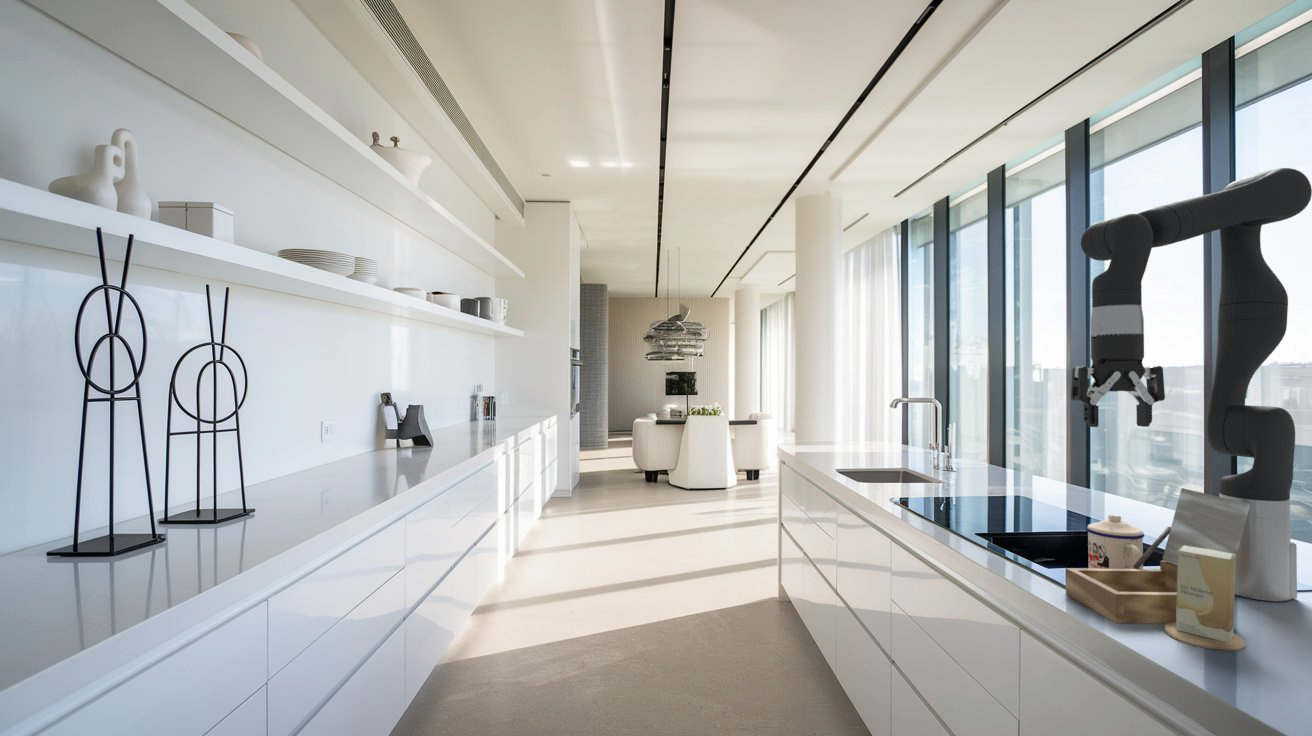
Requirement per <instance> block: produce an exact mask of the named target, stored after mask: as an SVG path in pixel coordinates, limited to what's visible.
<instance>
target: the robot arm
mask: <svg viewBox="0 0 1312 736" xmlns="http://www.w3.org/2000/svg"><path fill="white" fill-rule="evenodd" d="M1311 199H1312V185H1311V182H1310V180H1309V178H1308V177H1307V176H1306V175H1305V173H1303V172H1301V171H1300V170H1297V169H1295V168H1290V167H1279V168H1274V169H1269V170H1266V171H1263V172H1260V173H1256V174H1252V175H1249V176H1245V177H1243V178H1240V179H1236V180H1234V181H1232V182H1230V183H1229V184H1227V186H1225V188H1223V190H1222V191H1218V192H1213V193H1209V194H1205V195H1199V196H1195V197H1194V196H1193V197H1190V198H1185V199H1180V200H1177V201H1172V202H1168V203H1165V204H1161V205H1157V206H1153V207H1151V208H1148V209H1146V210H1142V211H1139V212H1137V213H1134V212H1133V213H1127V214H1121V215H1119V216H1115V217H1111V218H1108V219H1104V220H1100V221H1097V222H1094V223H1093V224H1091V225H1090V226H1088V228H1087V229H1086V230H1084V232H1083V234H1082V235H1081V239H1080V247H1081V250H1082V252H1083V253H1084V255H1086V257H1087V258H1089V259H1092V260H1095V261H1098V262H1102V261H1104V262H1105V261H1110V262H1109V265H1108V268H1107V269H1106V270H1105V271H1104V272H1102V273H1100V274H1098V275H1097V276H1095V277H1094V278H1093V280H1092V283H1091V307H1092V308H1091V316H1090V359H1091V362H1092V364H1091V367H1087V366H1075V367H1073V368H1072V374H1071V388H1070V389H1071V390H1070V391H1071V392H1070V399H1071V400H1072V401H1073V402H1078V403H1080V404H1082V405H1083V421H1084V423H1085V424H1086V426H1087V427H1091V428H1098V427H1099V419H1100V418H1099V405H1097V404H1098V402H1100V400H1101V398H1102V397H1103V396H1105V395H1107V394H1108V392H1126V393H1128V394H1129V395H1131V396H1132V397H1133V398H1134V400H1135V401H1136V402H1137V404H1136V425H1137V427H1144V428H1145V427H1150V424H1152V421H1153V405H1154V403H1157V402H1162V401H1165V399H1166V395H1165V394H1166V393H1165V380H1164V368H1163V367H1162V366H1161V365H1148V366H1146V367H1145V366H1144V364H1143V360H1144V358H1145V322H1144V319H1145V318H1144V313H1143V304H1142V302H1143V301H1142V293H1143V292H1142V281H1143V278H1144V275H1145V272H1146V269H1147V265H1148V261H1149V259H1150V255H1151V253H1152V249H1154V248H1159V247H1164V246H1169V245H1172V244H1176V243H1179V242H1183V241H1186V240H1190V239H1194V238H1195V237H1196V238H1197V237H1199V236H1202V235H1205V234H1208V233H1212V232H1215V231H1218V230H1219V235H1220V236H1219V238H1220V254H1221V259H1220V260H1221V265H1220V270H1221V271H1220V293H1219V301H1218V312H1217V316H1218V317H1217V342H1216V344H1217V345H1216V347H1217V348H1216V357H1215V358H1216V359H1215V372H1214V378H1213V383H1212V389H1211V395H1210V400H1209V406H1208V413H1207V418H1206V437H1207V441H1208V445H1209V446H1210V447H1211V449H1212V450H1213V451H1214V452H1215V453H1217V454H1220V455H1225V456H1235V457H1244V458H1253V464H1252V467H1251V468H1250V469H1249V470H1247V471H1245V472H1242V473H1236V474H1231V475H1225V476H1223V477H1221V478H1220V479H1219V484H1218V485H1219V487H1218V488H1219V490H1218V491H1219V496H1218V497H1221V498H1226V499H1230V500H1234V501H1238V502H1243V503H1247V504H1250V507H1249V511H1248V514H1247V518H1246V522H1245V525H1244V529H1243V533H1242V537H1241V540H1240V544H1239V548H1238V551H1237V555H1236V562H1235V595H1236V596H1239V597H1243V598H1247V599H1253V600H1258V601H1268V602H1287V601H1290V600H1292V599H1293V600H1294V599H1295V600H1296V599H1298V574H1297V572H1298V562H1297V561H1298V560H1297V559H1298V558H1297V557H1298V556H1297V555H1298V552H1297V544H1296V543H1295V542H1293V541H1291V488H1292V485H1293V480H1294V463H1295V462H1294V461H1295V450H1296V427H1295V422H1294V419H1293V417H1292V415H1291V414H1290V412H1289V411H1287V410H1286V409H1284V408H1283V407H1280V406H1279V407H1277V406H1269V405H1268V406H1266V405H1265V406H1264V405H1247V404H1246V397H1247V393H1248V388H1249V385H1250V383H1251V380H1252V379H1253V376H1254V375H1255V373H1256V372H1257V370H1258V369H1259V368H1260V367H1261V365H1262V364H1263V363H1264V362H1265V361H1266V360H1267V359H1268V358H1269V357H1270V356H1271V355H1272V353H1273V352H1274V351H1275V350H1276V349H1277V347H1278V346H1279V345H1280V343H1281V342H1282V340H1283V339H1284V337H1285V335H1286V332H1287V326H1288V312H1289V311H1288V310H1289V296H1288V292H1287V291H1286V288H1285V287H1284V285H1283V283H1282V282H1281V281H1280V279H1279V278H1278V276H1277V275H1276V273H1274V271H1273V270H1272V269H1271V268H1270V266H1269V265H1268V263H1267V262H1266V260H1265V259H1264V257H1263V253H1262V247H1261V231H1262V226H1263V225H1268V224H1273V223H1277V222H1281V221H1285V220H1288V219H1290V218H1293V217H1295V216H1297V215H1299V214H1300V213H1302V212H1303V211H1304V210H1306V208H1307V207H1308V206H1309V203H1310V201H1311ZM1091 377H1092V378H1093V379H1094V380H1093V382H1092V383H1091V385H1090V386H1089V387H1088V380H1089V379H1090V378H1091ZM1143 377H1144V378H1145V379H1146V385H1145V384H1144V383H1143V381H1142V380H1141V379H1142V378H1143Z"/></svg>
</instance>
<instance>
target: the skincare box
mask: <svg viewBox="0 0 1312 736" xmlns="http://www.w3.org/2000/svg"><path fill="white" fill-rule="evenodd" d="M1235 562H1236V555H1235V554H1232V553H1226V552H1220V551H1215V550H1210V549H1203V548H1197V547H1191V546H1185V545H1183V546H1182V547H1181V548H1180V549H1179V550H1178V566H1177V605H1176V630H1179V631H1183V632H1187V633H1191V634H1195V635H1199V636H1203V637H1207V638H1211V639H1215V640H1219V641H1223V642H1227V643H1229V641H1230V640H1231V639H1232V637H1233V633H1234V630H1235V629H1234V627H1235V625H1234V624H1235V599H1236V598H1235V597H1236V596H1235Z"/></svg>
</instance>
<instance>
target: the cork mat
mask: <svg viewBox="0 0 1312 736" xmlns="http://www.w3.org/2000/svg"><path fill="white" fill-rule="evenodd" d="M1164 631H1165V633H1166V634H1167V635H1168V636H1170V637H1171V638H1172V639H1173V638H1174V639H1175V640H1178V641H1179V642H1182V643H1185V644H1188V645H1192V646H1195V647H1198V648H1199V647H1200V648H1204V649H1209V650H1217V651H1224V652H1225V651H1229V652H1232V651H1241V650H1243V649H1244V648H1245V640H1244V639H1243V638H1242V637H1241V636H1240V635H1238V634H1236V633H1234V632H1233V637H1232V639H1231V640H1230V641H1229V643H1227V642H1223V641H1219V640H1215V639H1211V638H1207V637H1203V636H1199V635H1195V634H1191V633H1187V632H1183V631H1179V630H1176V622H1171V623H1167V624H1165V625H1164Z"/></svg>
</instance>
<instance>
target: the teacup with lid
mask: <svg viewBox="0 0 1312 736" xmlns="http://www.w3.org/2000/svg"><path fill="white" fill-rule="evenodd" d="M1086 531H1087V539H1088V540H1087V547H1088V549H1087V552H1088V553H1087V554H1088V560H1087V561H1088V563H1087V565H1088V568H1091V569H1135V568H1134V567H1133V566H1134V564H1135V563H1136V562H1137V561H1138V560H1139V559H1140V558H1141V557H1142V555H1143V554H1144V548H1143V547H1144V545H1143V543H1144V539H1143V538H1144V537H1145V533H1144V532H1143V530H1142V529H1140V528H1138V527H1136V526H1133V525H1131V524H1129V523H1128V522H1126V521H1124V520H1122V517H1121V515H1119V514H1109V515H1108V519H1107V518H1106V519H1101V520H1100V521H1098V522H1092V523H1089V524H1088V525H1087V527H1086ZM1138 569H1144V563H1143V564H1142V565H1141V566H1140V567H1139V568H1138Z"/></svg>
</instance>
